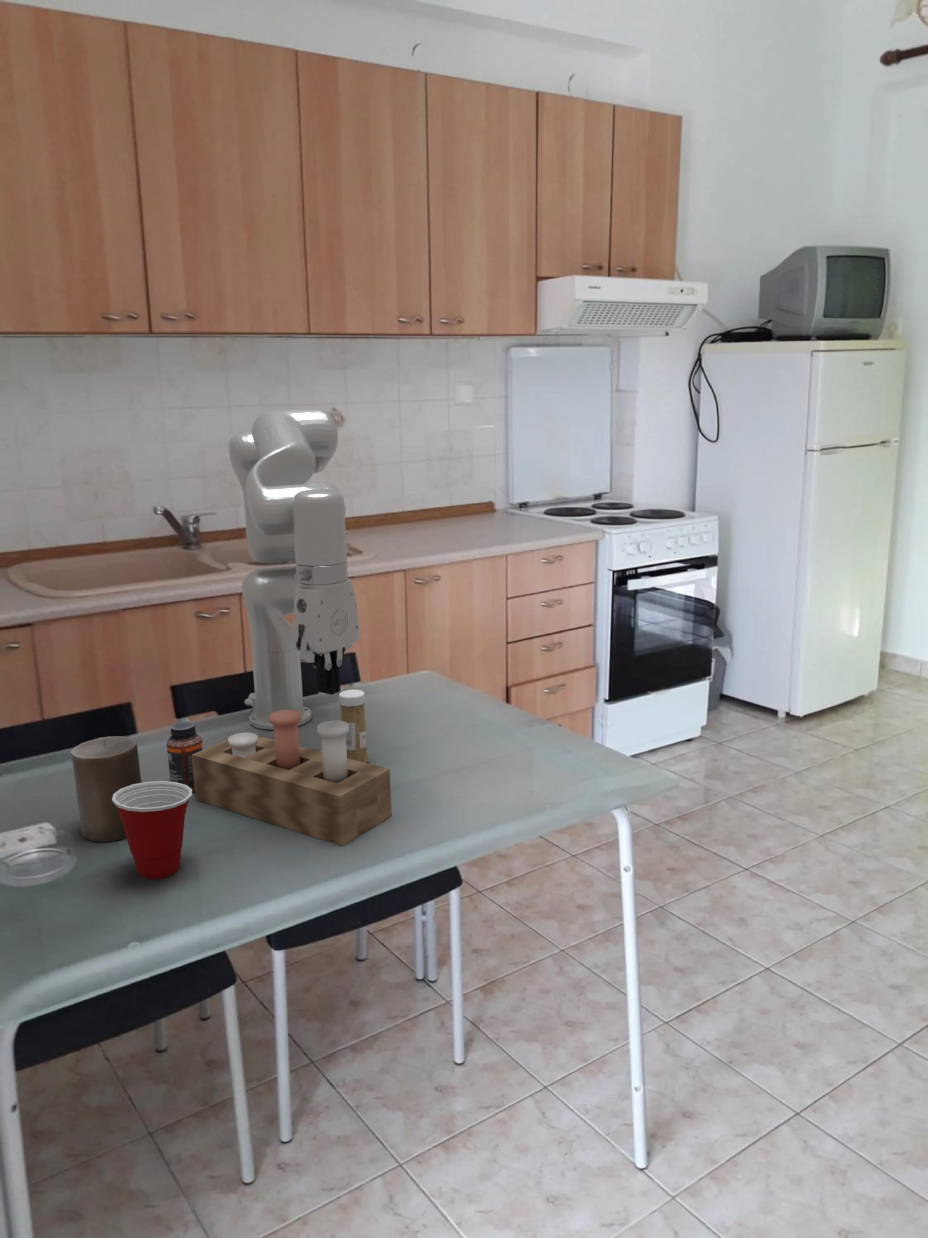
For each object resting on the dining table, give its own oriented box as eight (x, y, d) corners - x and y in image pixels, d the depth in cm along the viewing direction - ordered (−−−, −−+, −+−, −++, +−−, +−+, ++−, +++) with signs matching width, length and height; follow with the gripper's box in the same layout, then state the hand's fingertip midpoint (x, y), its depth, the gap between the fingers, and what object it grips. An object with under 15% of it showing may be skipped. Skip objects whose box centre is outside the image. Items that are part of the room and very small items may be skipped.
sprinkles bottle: (372, 764, 177) (369, 693, 174) (349, 770, 175) (346, 698, 171) (360, 756, 181) (357, 686, 177) (338, 762, 178) (334, 691, 175)
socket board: (195, 799, 164) (191, 754, 162) (247, 775, 173) (244, 732, 171) (342, 846, 146) (340, 796, 145) (391, 815, 156) (389, 769, 154)
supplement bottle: (213, 782, 171) (207, 720, 168) (195, 795, 165) (189, 732, 162) (182, 778, 172) (177, 718, 170) (164, 792, 167) (157, 730, 164)
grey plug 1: (226, 795, 165) (221, 739, 162) (247, 785, 168) (243, 730, 166) (247, 801, 162) (242, 744, 160) (267, 791, 166) (263, 735, 163)
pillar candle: (152, 832, 152) (142, 741, 149) (86, 848, 147) (74, 754, 144) (139, 810, 160) (129, 723, 157) (76, 824, 156) (65, 735, 152)
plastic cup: (214, 866, 141) (207, 789, 138) (147, 896, 133) (138, 815, 130) (172, 844, 148) (165, 770, 145) (106, 871, 140) (97, 794, 138)
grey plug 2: (314, 788, 152) (310, 727, 150) (334, 777, 156) (331, 718, 154) (337, 795, 150) (334, 733, 147) (357, 784, 154) (354, 724, 151)
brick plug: (267, 775, 158) (263, 716, 155) (288, 765, 162) (284, 708, 159) (289, 781, 155) (285, 722, 153) (310, 771, 159) (306, 713, 157)
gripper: (306, 585, 137) (314, 710, 141) (373, 567, 149) (378, 682, 153) (267, 580, 141) (276, 701, 145) (336, 563, 153) (342, 675, 157)
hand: (329, 691), depth 149 cm, fingers closed
